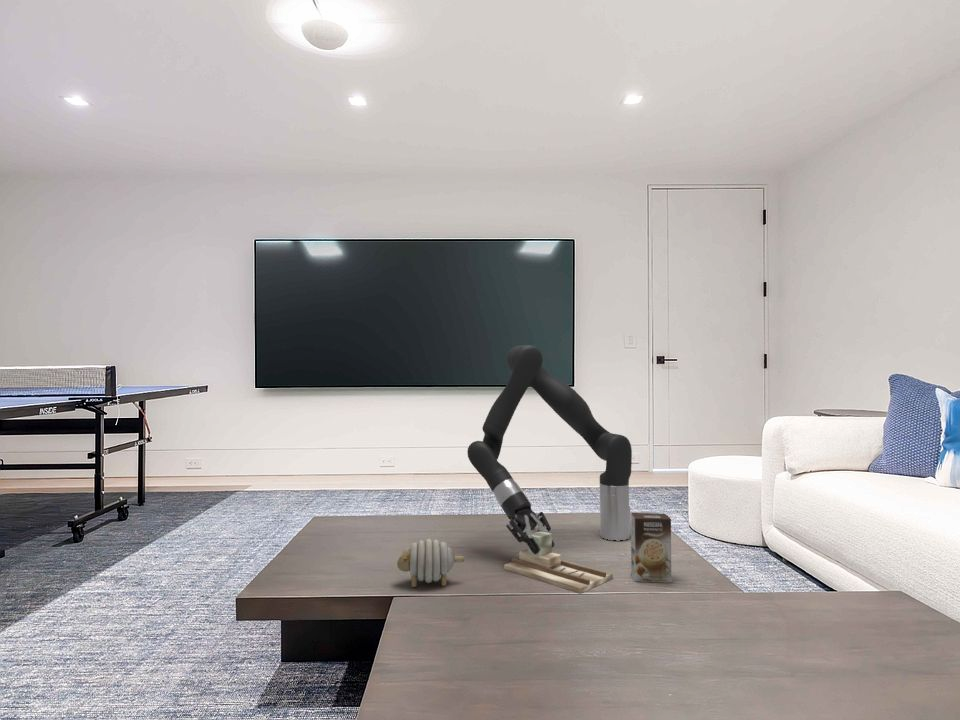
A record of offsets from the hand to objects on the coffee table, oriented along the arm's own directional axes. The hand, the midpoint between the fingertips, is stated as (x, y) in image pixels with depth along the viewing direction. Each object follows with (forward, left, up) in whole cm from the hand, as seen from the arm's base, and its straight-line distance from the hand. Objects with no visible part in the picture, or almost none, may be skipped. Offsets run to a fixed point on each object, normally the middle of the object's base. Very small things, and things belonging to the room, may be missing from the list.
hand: (544, 549), depth 153 cm
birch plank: (0, +4, -5) cm, 7 cm away
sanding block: (0, -2, -4) cm, 5 cm away
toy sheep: (+28, -14, -6) cm, 32 cm away
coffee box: (-14, +24, -6) cm, 28 cm away
